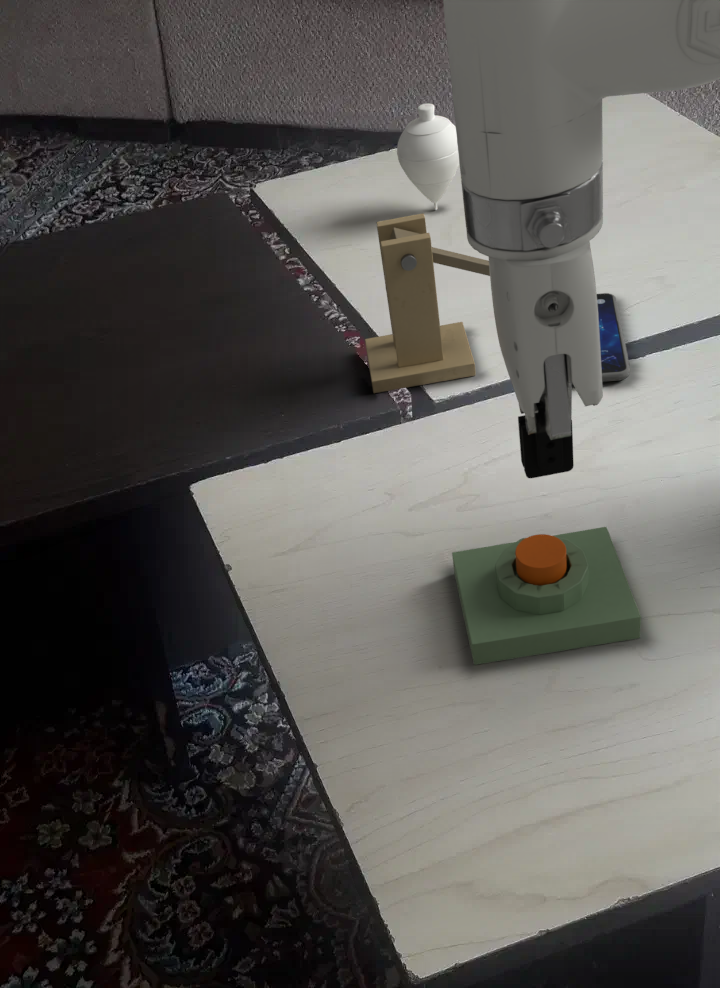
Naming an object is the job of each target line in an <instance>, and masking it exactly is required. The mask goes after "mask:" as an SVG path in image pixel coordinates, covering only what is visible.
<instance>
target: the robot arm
mask: <svg viewBox="0 0 720 988" xmlns="http://www.w3.org/2000/svg"><path fill="white" fill-rule="evenodd" d="M442 4H443V16H444V17H443V18H444V25H445V26H444V28H445V36H446V44H447V45H446V46H447V55H448V65H449V75H450V84H451V93H452V103H453V113H454V122H455V124H454V125H455V127H456V134H457V144H458V154H459V172H460V173H459V174H460V182H461V183H460V184H461V192H462V201H463V211H464V212H463V213H464V219H465V220H464V221H465V228H466V239H467V242H468V244H469V246H471V248H472V249H473V250H475V251H477V253H479V254H481V255H483V256H486V257H488V261H489V270H490V276H489V280H490V291H491V299H492V310H493V316H494V323H495V329H496V334H497V340H498V344H499V348H500V351H501V352H500V353H501V355H502V358H503V361H504V365H505V367H506V371H507V373H508V376H509V380H510V382H511V385H512V388H513V391H514V394H515V397H516V399H517V402H518V408H519V413H520V414H521V415H520V416H517V424H518V437H519V448H520V461H521V464H522V467H523V470H524V474H525V477H526V478H527V479H537V478H542V477H547V476H551V475H557V474H561V473H562V474H563V473H568V472H570V471H572V470H573V468H574V440H573V439H574V438H573V435H574V433H573V420H572V413H573V411H572V409H573V408H572V407H573V406H572V405H573V404H572V402H573V401H572V400H573V399H572V396H573V395H572V394H573V387H574V389H575V391H576V393H577V395H578V396H579V398H580V400H581V402H582V403H583V405H584V407H589V406H598V405H599V404H600V402H601V401H602V399H603V397H604V391H603V382H602V369H601V351H600V334H599V319H598V304H597V294H598V293H597V284H596V283H597V282H596V275H595V268H594V260H593V254H592V247H591V242H590V241H591V240H593V239H594V238H595V237H596V236H597V235H598V234H599V233H600V231H601V229H602V228H603V227H602V226H603V224H604V178H603V175H604V173H603V172H604V171H603V169H604V165H603V162H604V161H603V159H604V158H603V157H604V154H603V151H604V150H603V148H604V147H603V99H606V98H608V97H618V96H619V97H620V96H627V95H628V96H629V95H638V94H653V93H664V92H674V91H683V90H687V89H693V88H697V87H701V86H704V85H708V84H711V83H713V82H715V81H718V80H720V0H443V1H442ZM572 383H573V384H572ZM522 414H524V415H522Z"/></svg>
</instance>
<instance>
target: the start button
mask: <svg viewBox="0 0 720 988" xmlns="http://www.w3.org/2000/svg"><path fill="white" fill-rule="evenodd" d="M524 538H525V539H524V540H522V541H521V542H520V543H519V544H518V546H517V548H516V551H515V554H516V570H517V574H518V576H519V577H520V578H521V579H522V580H523V581H525V582H527V583H529V584H533V585H548V584H552V583H555V582H557V581H558V580H560V579H561V578H562V577H563V576H564V574H565V572H566V569H567V563H566V546H565V544H564V543H563V542H562V541H561V540H560V539H558V538H557V537H554V536H553V535H551V534H545V533H542V534H541V533H540V534H539V533H538V534H534V535H530V536H527V537H524Z"/></svg>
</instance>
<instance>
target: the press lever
mask: <svg viewBox="0 0 720 988" xmlns="http://www.w3.org/2000/svg"><path fill="white" fill-rule="evenodd" d="M413 235H419V233H415V232H411V231H406V230H402V229H398V228H393V230H392V233H391V237H390V240H392V239H397V238H402V237H408V236H413ZM432 255H433V264H437V265H440V266H441V265H442V266H445V267H450V268H455V269H458V270H463V271H467V272H471V273H475V274H479V275H484V276H487V277H490V270H489V259H488V260H487V259H484V258H479V257H476V256H471V255H467V254H462V253H459V252H455V251H450V250H446V249H442V248H437V247H433V246H432Z"/></svg>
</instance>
